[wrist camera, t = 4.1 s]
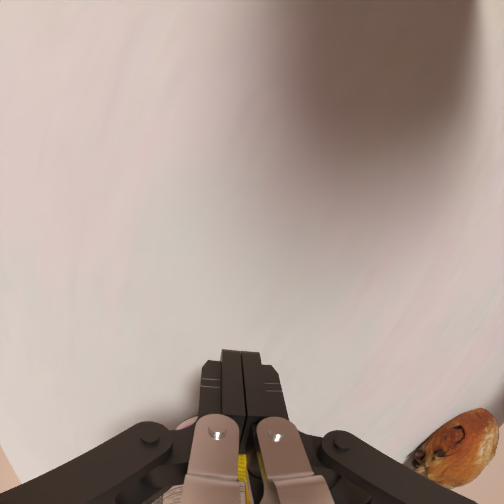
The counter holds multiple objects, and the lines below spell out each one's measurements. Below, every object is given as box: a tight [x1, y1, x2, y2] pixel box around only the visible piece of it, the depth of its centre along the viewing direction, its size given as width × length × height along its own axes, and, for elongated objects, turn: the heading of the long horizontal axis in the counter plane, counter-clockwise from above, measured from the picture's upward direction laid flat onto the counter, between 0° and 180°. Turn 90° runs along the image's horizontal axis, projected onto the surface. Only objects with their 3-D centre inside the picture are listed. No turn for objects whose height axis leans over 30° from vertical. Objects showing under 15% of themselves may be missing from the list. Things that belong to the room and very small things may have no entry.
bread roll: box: [412, 408, 499, 490], centre depth 20 cm, size 10×10×8 cm
